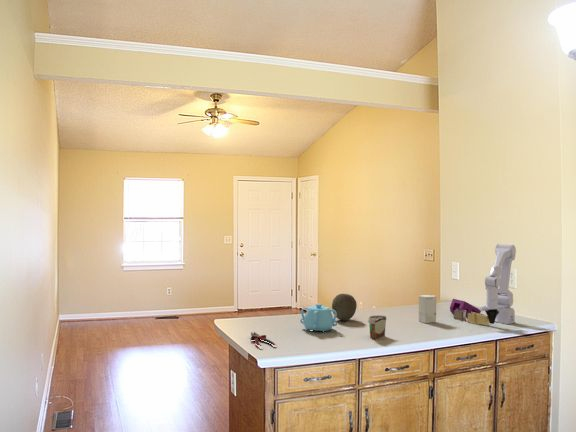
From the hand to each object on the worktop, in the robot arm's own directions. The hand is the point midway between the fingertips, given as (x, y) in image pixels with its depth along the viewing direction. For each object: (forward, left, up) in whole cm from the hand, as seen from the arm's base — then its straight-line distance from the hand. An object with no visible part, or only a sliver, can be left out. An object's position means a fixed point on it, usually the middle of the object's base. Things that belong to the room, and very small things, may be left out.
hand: (491, 323), depth 264 cm
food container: (+20, +69, -2) cm, 72 cm away
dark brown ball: (+56, +57, -2) cm, 80 cm away
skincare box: (+27, +20, -2) cm, 34 cm away
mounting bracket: (+26, -16, -2) cm, 31 cm away
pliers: (+44, +121, -2) cm, 129 cm away
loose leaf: (+8, 0, -1) cm, 8 cm away
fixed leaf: (+20, 0, -2) cm, 20 cm away
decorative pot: (+47, +83, -2) cm, 96 cm away
